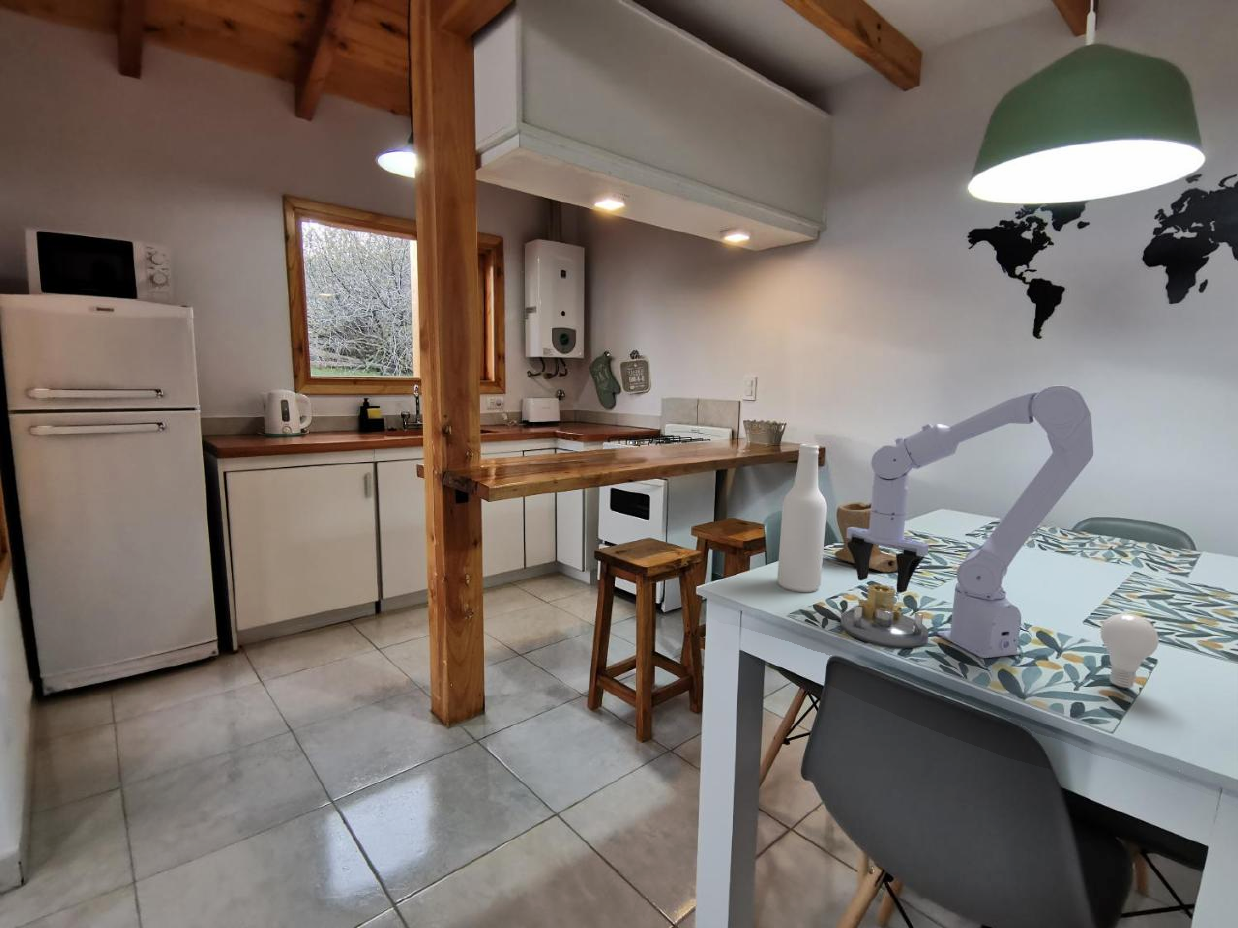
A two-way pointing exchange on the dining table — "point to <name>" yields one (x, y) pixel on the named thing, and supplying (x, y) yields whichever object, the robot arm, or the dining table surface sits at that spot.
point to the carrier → (885, 628)
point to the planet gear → (880, 601)
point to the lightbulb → (1127, 646)
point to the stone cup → (860, 518)
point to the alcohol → (803, 527)
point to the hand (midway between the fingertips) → (881, 584)
